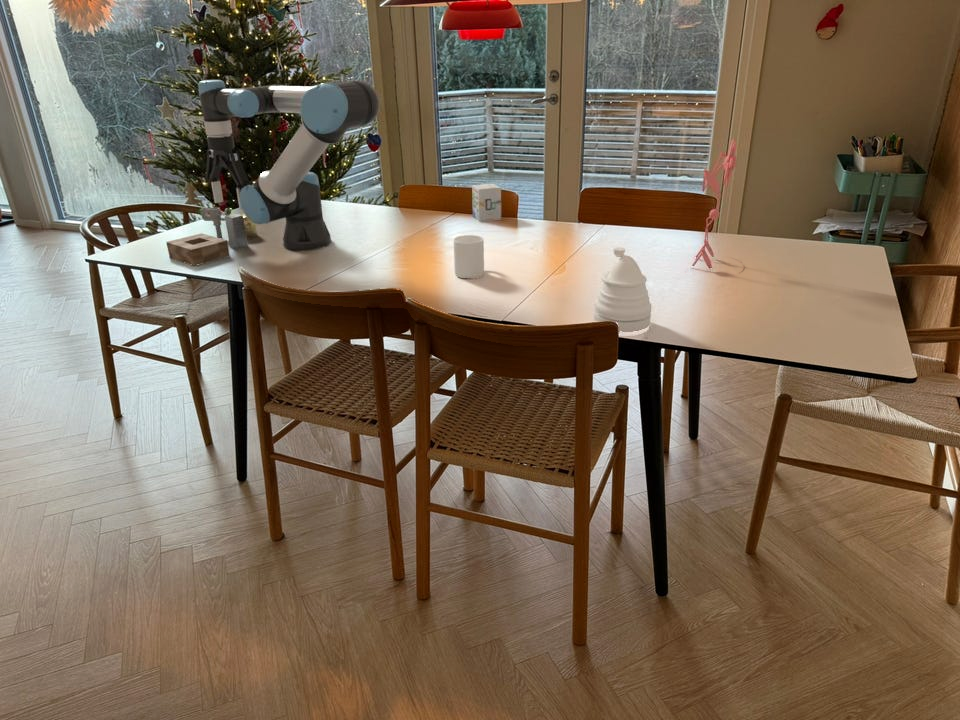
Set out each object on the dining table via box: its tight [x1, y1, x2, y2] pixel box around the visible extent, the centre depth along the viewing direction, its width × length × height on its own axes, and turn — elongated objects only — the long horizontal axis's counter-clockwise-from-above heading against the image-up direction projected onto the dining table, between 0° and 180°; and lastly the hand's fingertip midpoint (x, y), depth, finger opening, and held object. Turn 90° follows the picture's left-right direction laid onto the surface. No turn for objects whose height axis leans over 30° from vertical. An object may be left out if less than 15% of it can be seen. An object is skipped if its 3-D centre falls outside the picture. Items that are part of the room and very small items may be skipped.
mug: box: [453, 234, 485, 280], centre depth 195 cm, size 12×8×10 cm
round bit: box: [240, 213, 258, 240], centre depth 234 cm, size 6×6×7 cm
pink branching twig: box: [691, 138, 738, 270], centre depth 192 cm, size 15×26×35 cm, turn 158°
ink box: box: [471, 182, 502, 223], centre depth 250 cm, size 8×8×12 cm
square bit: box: [224, 213, 249, 250], centre depth 223 cm, size 4×4×10 cm
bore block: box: [165, 232, 231, 266], centre depth 214 cm, size 14×12×5 cm
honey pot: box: [593, 246, 652, 332], centre depth 158 cm, size 13×13×18 cm
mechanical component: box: [198, 207, 232, 239], centre depth 232 cm, size 3×10×10 cm, turn 89°
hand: (231, 205), depth 219 cm, fingers open, 13 cm apart
